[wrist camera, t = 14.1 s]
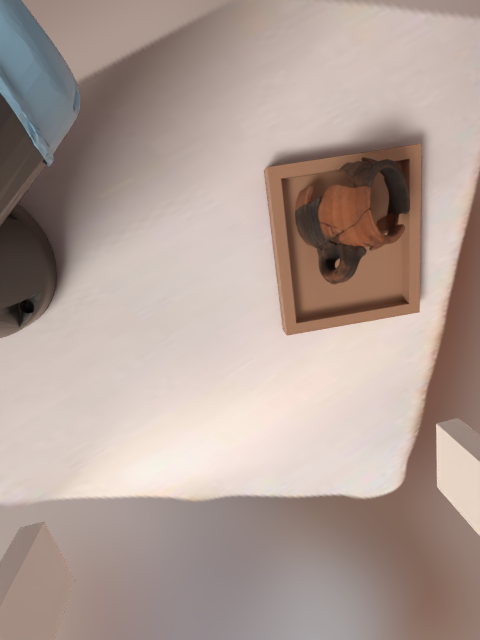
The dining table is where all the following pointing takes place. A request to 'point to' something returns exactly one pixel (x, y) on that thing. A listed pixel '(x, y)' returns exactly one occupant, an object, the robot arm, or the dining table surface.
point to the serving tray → (302, 260)
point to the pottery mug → (351, 217)
